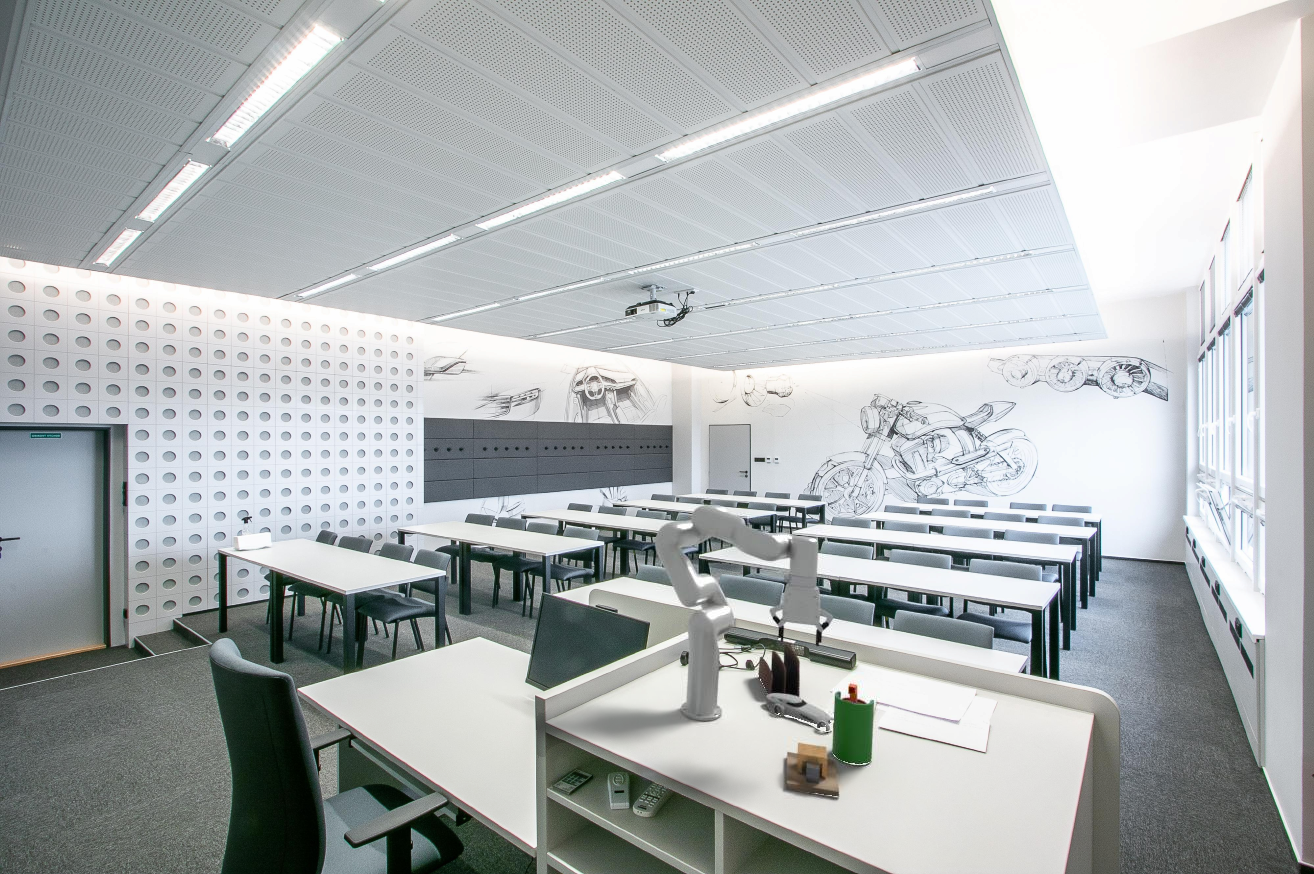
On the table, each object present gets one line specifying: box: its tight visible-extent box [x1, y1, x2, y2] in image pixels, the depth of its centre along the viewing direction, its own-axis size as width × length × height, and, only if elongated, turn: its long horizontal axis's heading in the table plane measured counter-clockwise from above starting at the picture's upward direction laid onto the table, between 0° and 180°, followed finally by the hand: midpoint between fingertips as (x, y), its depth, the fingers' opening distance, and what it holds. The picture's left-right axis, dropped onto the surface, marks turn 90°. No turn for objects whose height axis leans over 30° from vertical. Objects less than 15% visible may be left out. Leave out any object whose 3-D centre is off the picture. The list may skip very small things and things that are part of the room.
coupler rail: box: [805, 761, 820, 784], centre depth 150 cm, size 12×3×4 cm, turn 167°
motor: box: [831, 683, 875, 764], centre depth 161 cm, size 10×9×20 cm
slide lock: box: [796, 742, 828, 777], centre depth 150 cm, size 6×7×4 cm
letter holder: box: [757, 642, 801, 697], centre depth 208 cm, size 10×20×14 cm, turn 2°
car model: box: [765, 693, 834, 731], centre depth 186 cm, size 11×24×5 cm, turn 47°
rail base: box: [786, 751, 840, 797], centre depth 149 cm, size 16×12×2 cm
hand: (799, 642), depth 167 cm, fingers open, 9 cm apart
